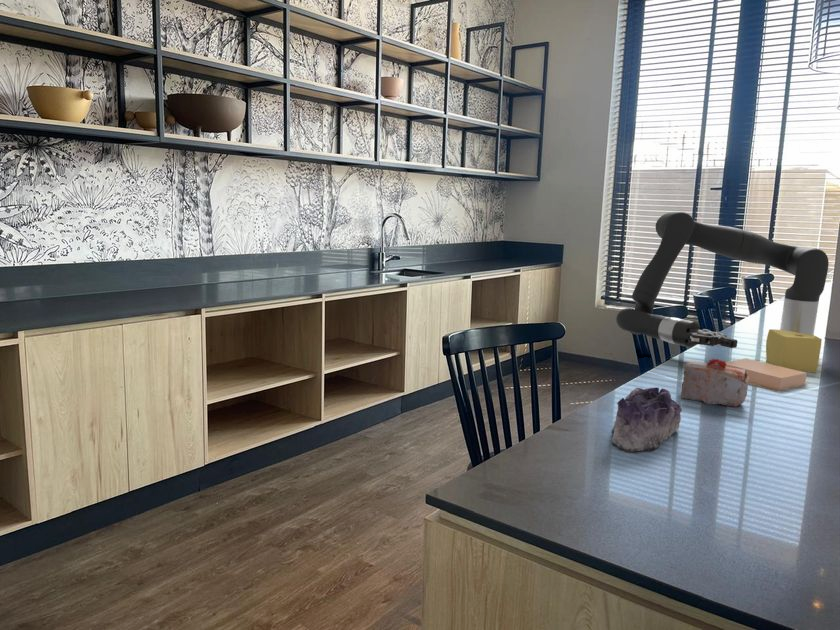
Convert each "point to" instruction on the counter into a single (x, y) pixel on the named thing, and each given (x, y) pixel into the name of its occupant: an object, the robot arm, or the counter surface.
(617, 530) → the counter surface
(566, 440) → the counter surface
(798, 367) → the cheese
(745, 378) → the food item
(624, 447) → the geode
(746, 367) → the tile
